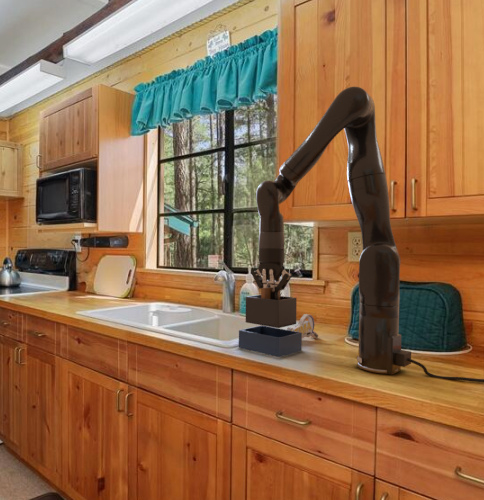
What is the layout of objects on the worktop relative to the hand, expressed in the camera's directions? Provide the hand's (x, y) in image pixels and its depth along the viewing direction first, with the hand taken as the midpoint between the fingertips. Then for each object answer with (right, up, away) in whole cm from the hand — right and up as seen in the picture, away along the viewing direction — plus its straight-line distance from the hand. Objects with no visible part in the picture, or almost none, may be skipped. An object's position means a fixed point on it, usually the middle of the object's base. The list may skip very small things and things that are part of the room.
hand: (270, 303), depth 133 cm
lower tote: (0, -15, 0) cm, 15 cm away
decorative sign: (+14, -15, +13) cm, 24 cm away
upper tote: (0, -6, 0) cm, 6 cm away
